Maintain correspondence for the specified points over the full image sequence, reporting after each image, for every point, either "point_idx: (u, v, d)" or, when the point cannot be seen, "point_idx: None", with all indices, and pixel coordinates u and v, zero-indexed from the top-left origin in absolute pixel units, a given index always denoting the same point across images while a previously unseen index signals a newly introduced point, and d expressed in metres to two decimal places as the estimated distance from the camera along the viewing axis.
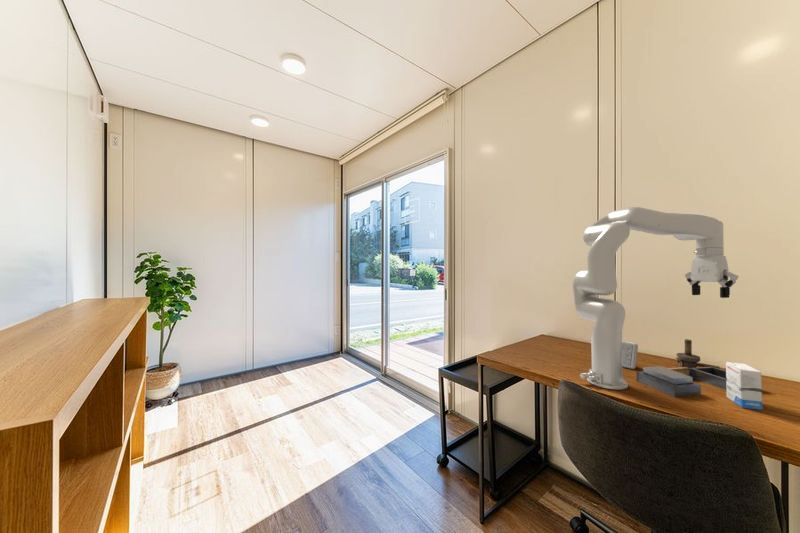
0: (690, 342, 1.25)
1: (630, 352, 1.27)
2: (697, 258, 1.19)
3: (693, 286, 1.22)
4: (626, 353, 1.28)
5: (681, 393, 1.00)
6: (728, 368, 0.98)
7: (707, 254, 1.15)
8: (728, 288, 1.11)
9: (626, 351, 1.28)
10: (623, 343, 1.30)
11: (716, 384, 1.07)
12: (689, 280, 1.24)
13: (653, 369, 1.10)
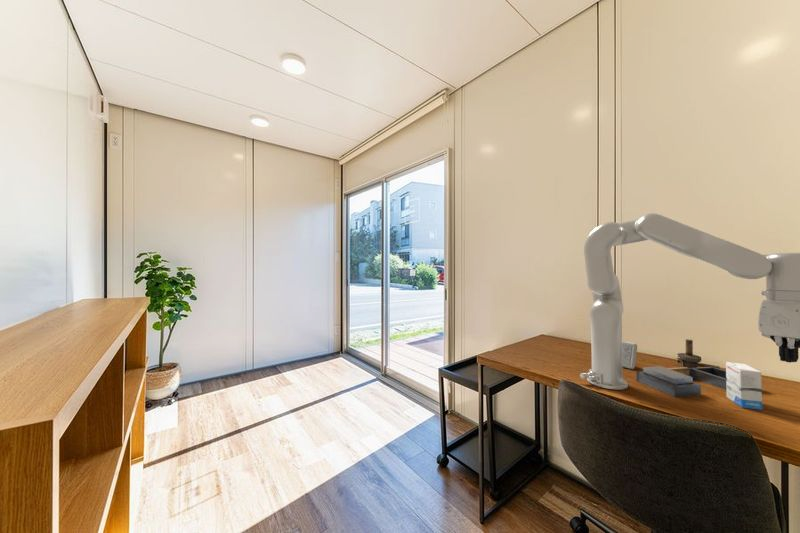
0: (691, 342, 1.25)
1: (629, 352, 1.27)
2: (769, 303, 0.86)
3: (782, 348, 0.85)
4: (625, 353, 1.28)
5: (681, 393, 1.00)
6: (728, 368, 0.98)
7: (786, 300, 0.82)
8: (796, 350, 0.83)
9: (625, 351, 1.28)
10: (622, 343, 1.30)
11: (716, 384, 1.07)
12: (774, 338, 0.87)
13: (653, 369, 1.10)
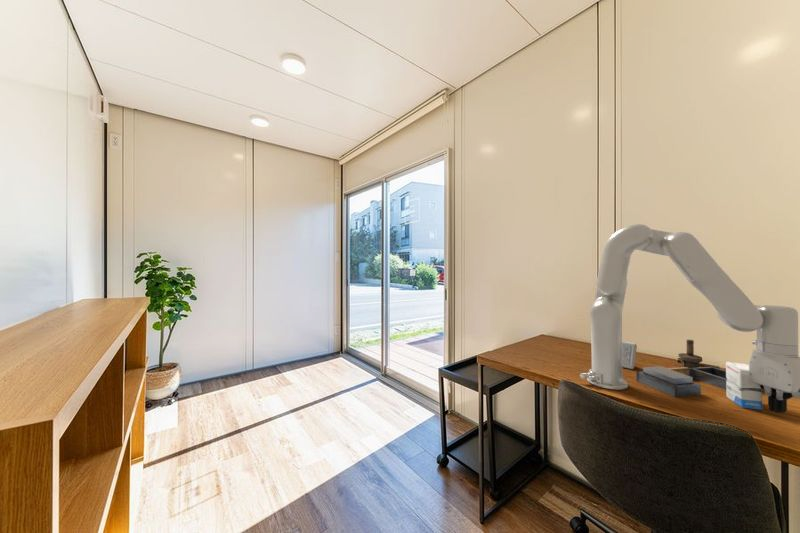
0: (692, 342, 1.24)
1: (629, 352, 1.27)
2: (759, 354, 0.89)
3: (771, 399, 0.87)
4: (625, 353, 1.28)
5: (681, 393, 1.00)
6: (728, 368, 0.98)
7: (775, 353, 0.84)
8: (785, 401, 0.85)
9: (625, 351, 1.28)
10: (622, 343, 1.30)
11: (716, 384, 1.07)
12: (764, 388, 0.89)
13: (653, 369, 1.10)
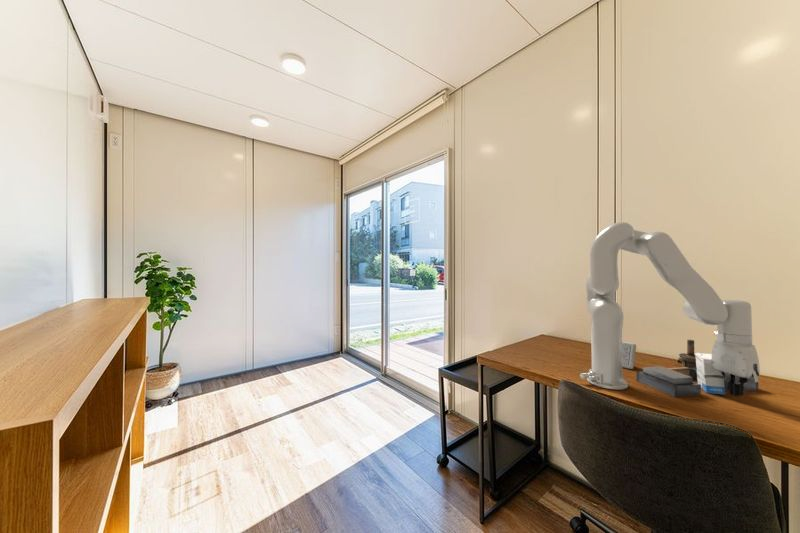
0: (693, 342, 1.24)
1: (628, 352, 1.27)
2: (719, 343, 0.99)
3: (730, 383, 0.97)
4: (624, 353, 1.28)
5: (681, 393, 1.00)
6: (696, 358, 1.08)
7: (732, 342, 0.95)
8: (742, 385, 0.95)
9: (624, 351, 1.28)
10: None
11: None
12: (724, 374, 0.99)
13: (653, 369, 1.10)
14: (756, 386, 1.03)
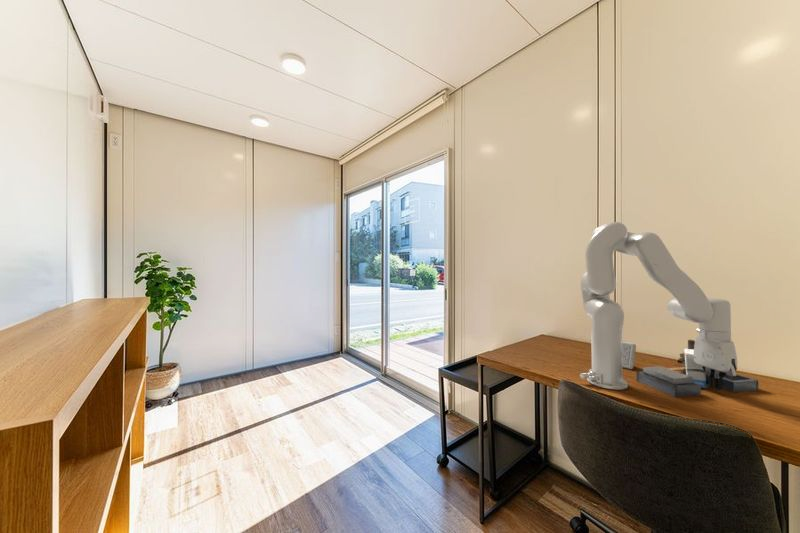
0: (693, 342, 1.24)
1: (628, 352, 1.27)
2: (701, 340, 1.04)
3: (710, 378, 1.02)
4: (624, 353, 1.28)
5: (681, 393, 1.00)
6: None
7: (712, 338, 1.00)
8: (721, 379, 1.01)
9: (624, 351, 1.28)
10: None
11: None
12: (705, 369, 1.04)
13: (653, 369, 1.10)
14: (756, 386, 1.03)
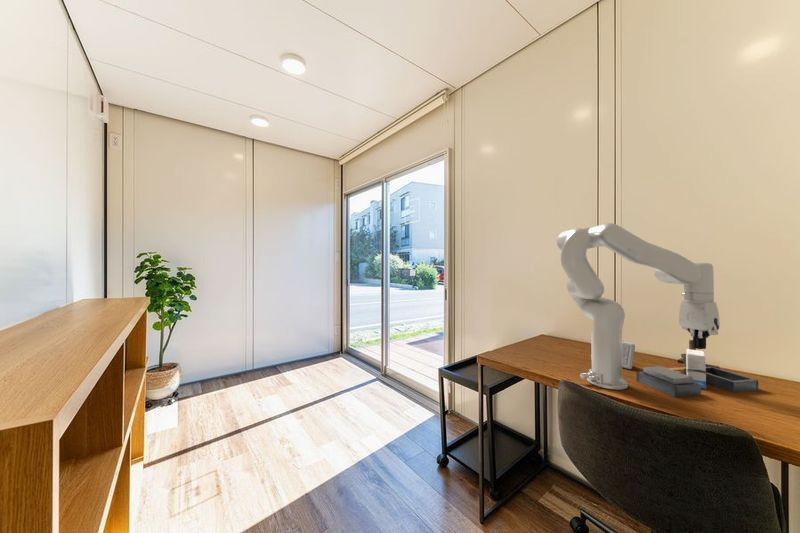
0: None
1: (627, 352, 1.27)
2: (685, 302, 1.09)
3: (694, 338, 1.07)
4: (623, 353, 1.28)
5: (681, 393, 1.00)
6: (686, 354, 1.13)
7: (696, 300, 1.04)
8: (704, 339, 1.05)
9: (623, 351, 1.28)
10: None
11: (716, 384, 1.07)
12: (690, 330, 1.09)
13: (653, 369, 1.10)
14: (756, 386, 1.03)
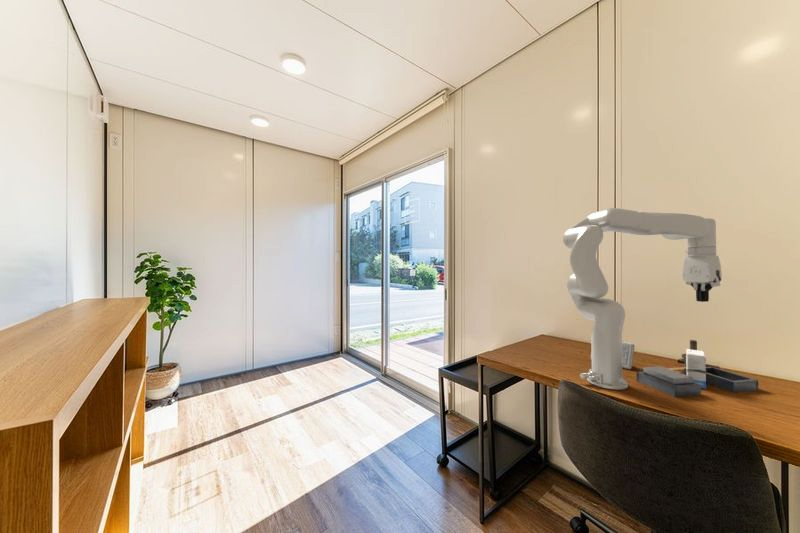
0: (695, 343, 1.23)
1: (626, 352, 1.27)
2: (689, 258, 1.13)
3: (697, 291, 1.12)
4: (622, 353, 1.28)
5: (681, 393, 1.00)
6: (686, 354, 1.13)
7: (699, 254, 1.09)
8: (707, 292, 1.10)
9: (622, 351, 1.28)
10: None
11: (716, 384, 1.07)
12: None
13: (653, 369, 1.10)
14: (756, 386, 1.03)
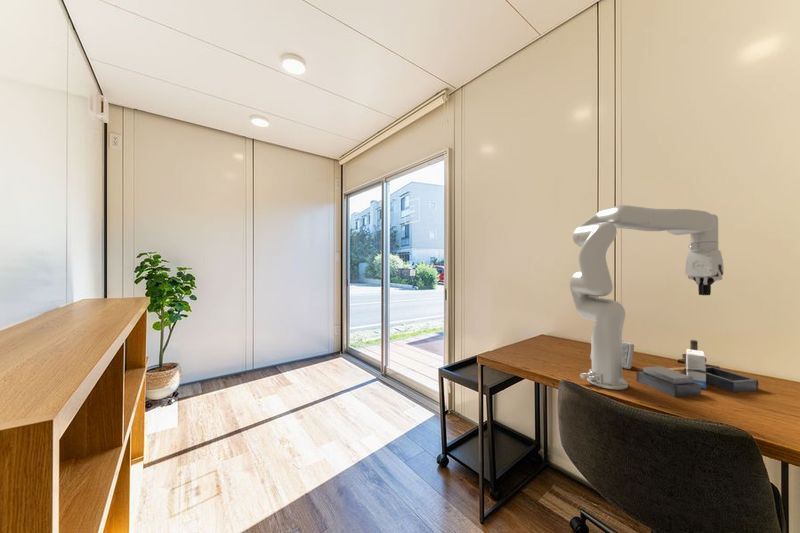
0: (696, 343, 1.23)
1: (626, 352, 1.27)
2: (691, 253, 1.16)
3: (700, 285, 1.15)
4: (622, 353, 1.28)
5: (681, 393, 1.00)
6: (686, 354, 1.13)
7: (702, 248, 1.12)
8: (709, 286, 1.13)
9: (622, 351, 1.28)
10: None
11: (716, 384, 1.07)
12: (695, 279, 1.17)
13: (653, 369, 1.10)
14: (756, 386, 1.03)
